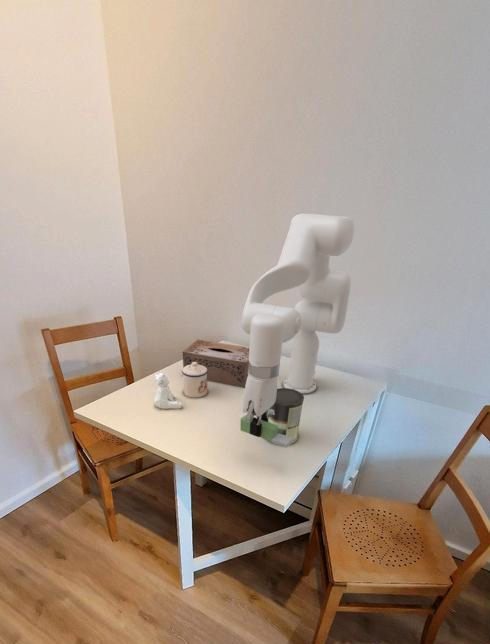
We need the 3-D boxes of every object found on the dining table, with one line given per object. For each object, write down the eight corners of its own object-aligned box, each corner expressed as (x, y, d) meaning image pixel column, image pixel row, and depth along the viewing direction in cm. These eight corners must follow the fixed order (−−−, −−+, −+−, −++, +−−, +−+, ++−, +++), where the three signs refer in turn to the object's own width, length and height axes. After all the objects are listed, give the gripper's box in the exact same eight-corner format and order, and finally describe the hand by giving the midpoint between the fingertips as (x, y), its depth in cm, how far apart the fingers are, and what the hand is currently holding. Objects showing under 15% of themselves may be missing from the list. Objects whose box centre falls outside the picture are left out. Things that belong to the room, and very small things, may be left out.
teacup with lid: (202, 400, 138) (201, 369, 131) (179, 395, 140) (177, 365, 133) (213, 385, 147) (213, 356, 140) (191, 382, 149) (190, 353, 142)
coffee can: (267, 445, 117) (272, 404, 108) (262, 427, 125) (266, 388, 116) (301, 444, 117) (307, 404, 109) (294, 426, 126) (299, 387, 117)
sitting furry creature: (183, 408, 133) (181, 376, 126) (159, 414, 130) (156, 381, 122) (173, 396, 139) (170, 365, 132) (150, 402, 136) (146, 370, 129)
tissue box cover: (183, 375, 153) (182, 351, 147) (198, 362, 164) (197, 339, 158) (244, 387, 147) (246, 362, 141) (255, 372, 158) (257, 348, 152)
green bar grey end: (292, 441, 102) (294, 429, 99) (286, 448, 99) (287, 436, 97) (246, 425, 108) (246, 414, 106) (239, 431, 105) (239, 419, 103)
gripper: (266, 354, 100) (261, 415, 111) (232, 376, 89) (230, 441, 100) (292, 361, 97) (284, 423, 108) (260, 384, 86) (255, 451, 97)
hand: (258, 431), depth 104 cm, fingers closed on green bar grey end, 2 cm apart
